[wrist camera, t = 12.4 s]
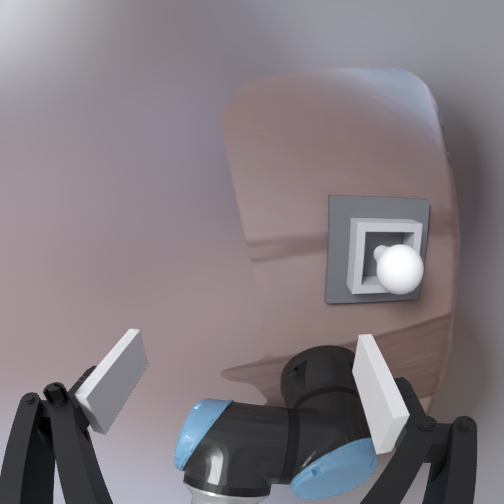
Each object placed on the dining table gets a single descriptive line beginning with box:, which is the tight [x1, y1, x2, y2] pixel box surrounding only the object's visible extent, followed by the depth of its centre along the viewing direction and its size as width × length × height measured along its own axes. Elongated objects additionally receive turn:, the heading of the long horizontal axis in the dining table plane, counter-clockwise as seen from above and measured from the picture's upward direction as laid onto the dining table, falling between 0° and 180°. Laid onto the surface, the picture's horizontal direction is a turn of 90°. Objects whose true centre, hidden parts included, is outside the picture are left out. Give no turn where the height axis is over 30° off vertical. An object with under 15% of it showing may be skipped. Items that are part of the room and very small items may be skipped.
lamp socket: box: [325, 195, 430, 303], centre depth 38 cm, size 16×16×5 cm
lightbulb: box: [374, 244, 424, 295], centre depth 34 cm, size 6×6×11 cm
